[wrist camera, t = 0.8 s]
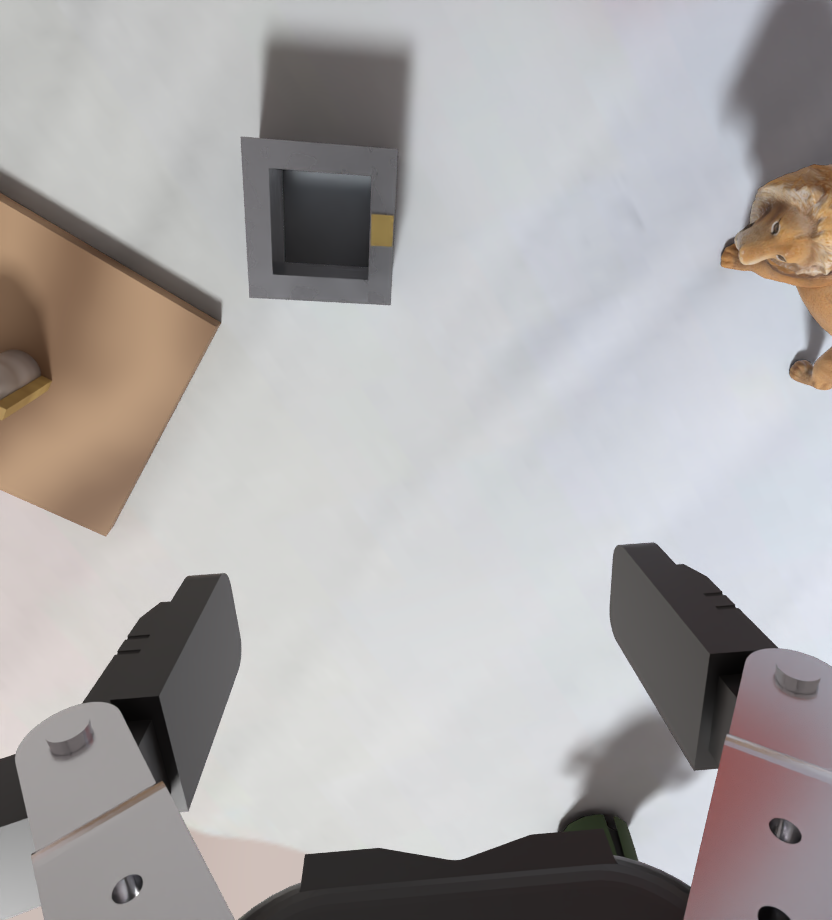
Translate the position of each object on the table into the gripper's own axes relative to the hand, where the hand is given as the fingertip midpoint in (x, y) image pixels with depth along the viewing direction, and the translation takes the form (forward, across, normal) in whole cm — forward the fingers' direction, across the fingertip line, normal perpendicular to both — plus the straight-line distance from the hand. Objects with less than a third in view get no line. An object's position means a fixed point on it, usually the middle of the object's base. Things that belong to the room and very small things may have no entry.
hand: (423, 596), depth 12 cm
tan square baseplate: (+20, +18, -3) cm, 27 cm away
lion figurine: (+20, -19, -4) cm, 28 cm away
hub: (+19, +3, -8) cm, 21 cm away
